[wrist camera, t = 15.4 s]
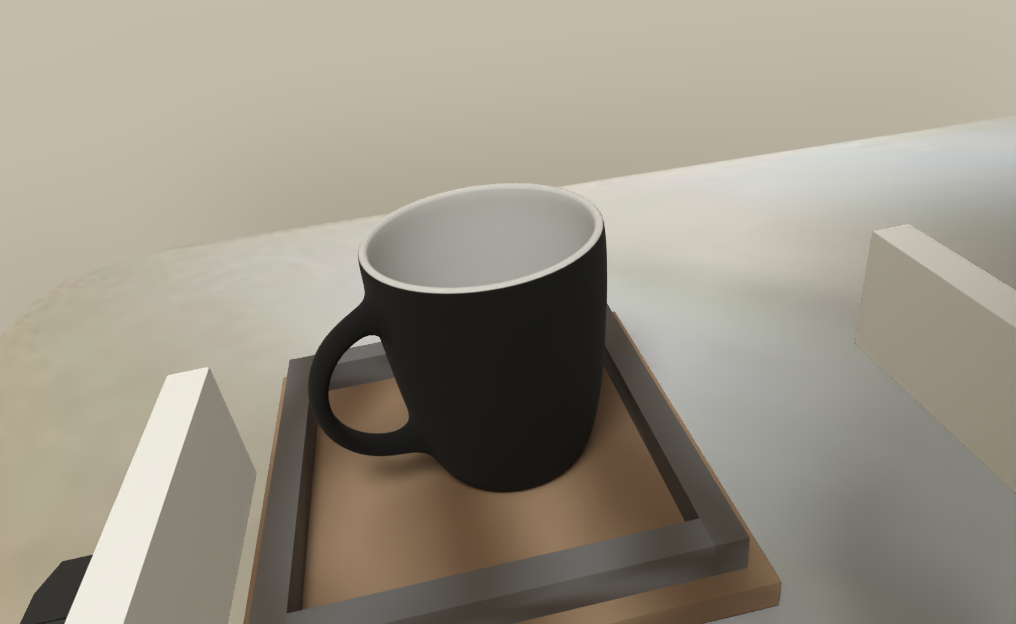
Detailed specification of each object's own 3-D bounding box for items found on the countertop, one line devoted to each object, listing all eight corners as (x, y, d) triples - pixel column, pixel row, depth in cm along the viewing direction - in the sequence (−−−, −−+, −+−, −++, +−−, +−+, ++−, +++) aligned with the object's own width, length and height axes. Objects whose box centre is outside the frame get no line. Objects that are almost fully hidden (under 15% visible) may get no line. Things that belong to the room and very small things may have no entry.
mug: (547, 356, 36) (526, 165, 30) (660, 457, 29) (658, 232, 23) (318, 451, 32) (248, 249, 26) (384, 597, 25) (306, 362, 19)
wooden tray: (615, 329, 39) (613, 287, 38) (778, 604, 24) (785, 551, 22) (290, 395, 38) (275, 354, 36) (240, 736, 22) (211, 687, 21)
